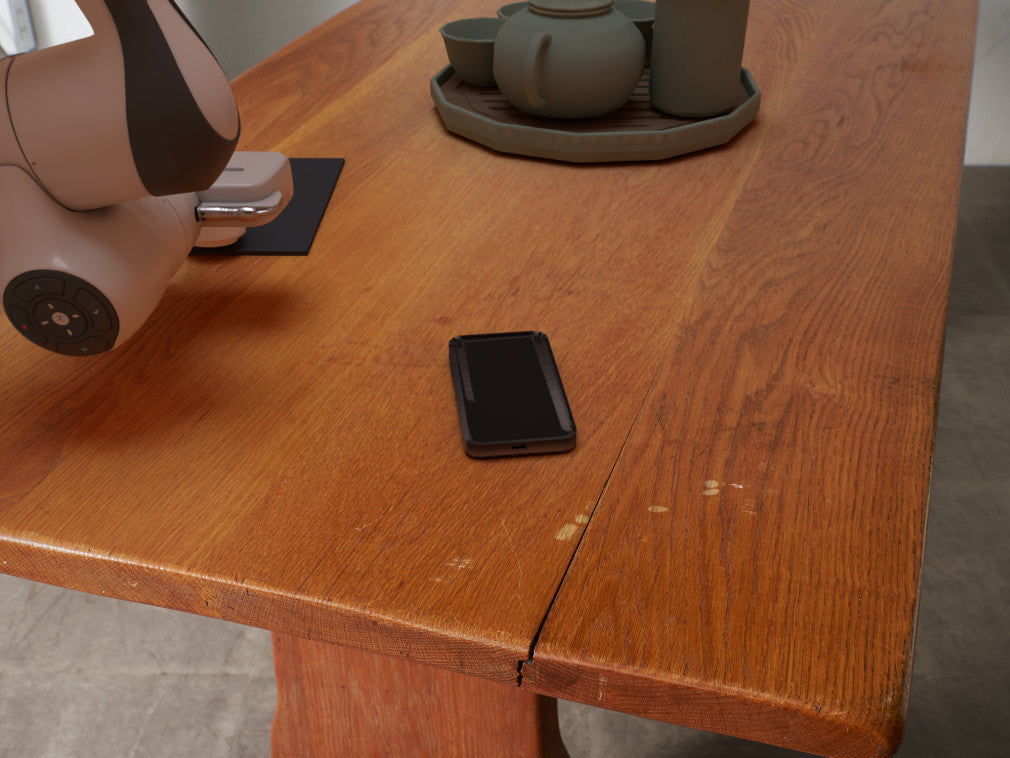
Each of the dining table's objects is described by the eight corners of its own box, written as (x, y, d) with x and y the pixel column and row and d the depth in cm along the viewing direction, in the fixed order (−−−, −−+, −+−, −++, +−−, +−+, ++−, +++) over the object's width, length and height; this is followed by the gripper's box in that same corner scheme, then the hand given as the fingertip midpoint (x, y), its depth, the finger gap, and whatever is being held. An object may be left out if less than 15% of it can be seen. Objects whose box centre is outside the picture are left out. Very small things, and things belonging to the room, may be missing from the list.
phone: (545, 329, 80) (579, 437, 68) (545, 342, 80) (579, 450, 69) (445, 336, 79) (463, 445, 67) (446, 348, 80) (464, 459, 68)
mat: (114, 254, 93) (112, 250, 93) (183, 160, 112) (182, 157, 112) (307, 255, 93) (307, 251, 93) (345, 161, 112) (344, 157, 111)
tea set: (728, 64, 140) (746, -71, 130) (779, 170, 109) (806, 3, 99) (444, 63, 141) (438, -71, 131) (414, 167, 110) (403, 2, 100)
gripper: (268, 175, 73) (303, 113, 84) (-10, 174, 74) (60, 112, 84) (281, 256, 77) (312, 187, 88) (17, 254, 78) (80, 185, 88)
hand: (187, 150), depth 86 cm, fingers closed, pressing on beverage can
